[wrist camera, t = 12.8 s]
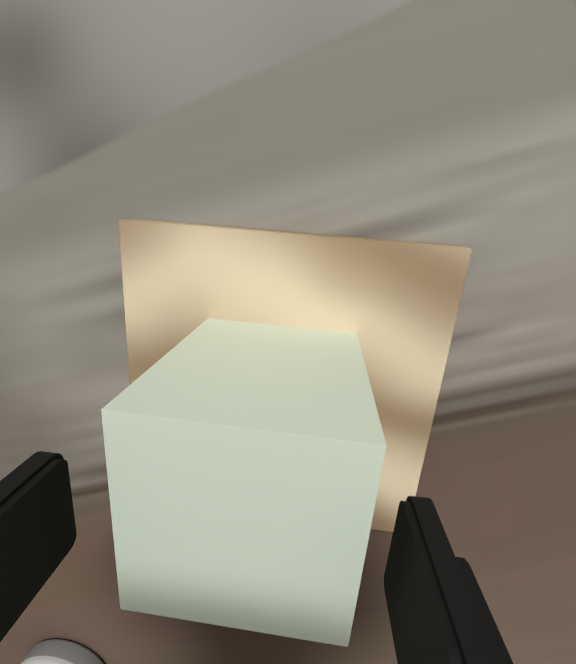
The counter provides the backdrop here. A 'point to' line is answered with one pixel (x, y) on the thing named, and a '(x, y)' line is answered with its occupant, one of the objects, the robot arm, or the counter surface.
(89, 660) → the travel mug
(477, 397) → the counter surface
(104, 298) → the counter surface
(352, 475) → the pale green block
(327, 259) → the post board
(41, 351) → the counter surface
